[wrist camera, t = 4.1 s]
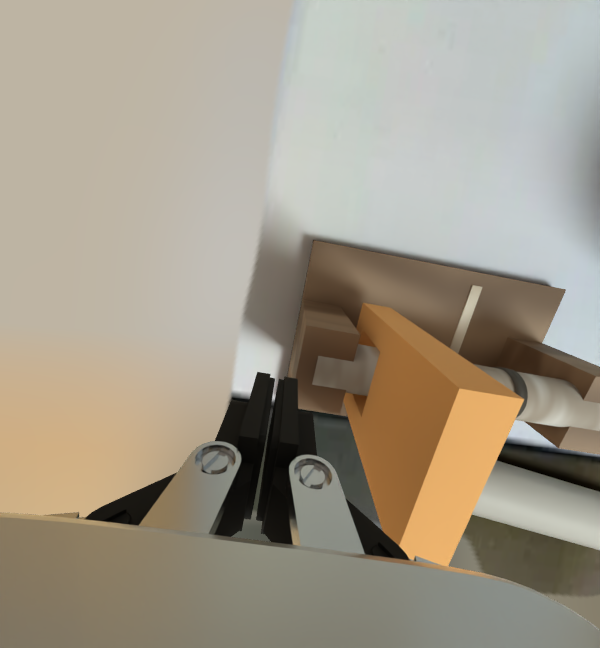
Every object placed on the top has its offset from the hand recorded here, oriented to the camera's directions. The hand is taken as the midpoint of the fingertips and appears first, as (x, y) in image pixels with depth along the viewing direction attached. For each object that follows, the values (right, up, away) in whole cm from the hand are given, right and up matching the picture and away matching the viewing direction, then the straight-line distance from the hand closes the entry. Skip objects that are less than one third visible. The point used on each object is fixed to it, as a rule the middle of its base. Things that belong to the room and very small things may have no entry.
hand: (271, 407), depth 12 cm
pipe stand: (+11, +1, +13) cm, 17 cm away
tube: (+26, -13, +18) cm, 34 cm away
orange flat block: (+6, +1, +9) cm, 11 cm away
